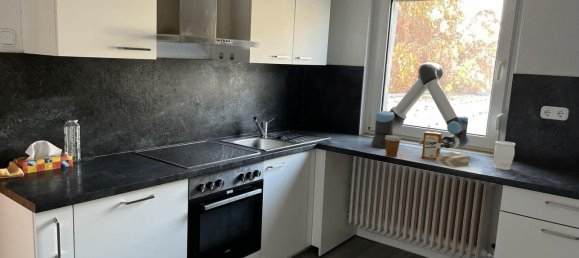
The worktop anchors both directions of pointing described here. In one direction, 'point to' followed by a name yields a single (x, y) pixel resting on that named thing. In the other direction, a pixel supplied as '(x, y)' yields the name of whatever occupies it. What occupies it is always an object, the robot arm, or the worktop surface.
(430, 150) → the baking soda box
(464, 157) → the plinth
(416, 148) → the worktop surface
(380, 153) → the worktop surface
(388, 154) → the disposable coffee cup
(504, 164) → the jar
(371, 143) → the robot arm
